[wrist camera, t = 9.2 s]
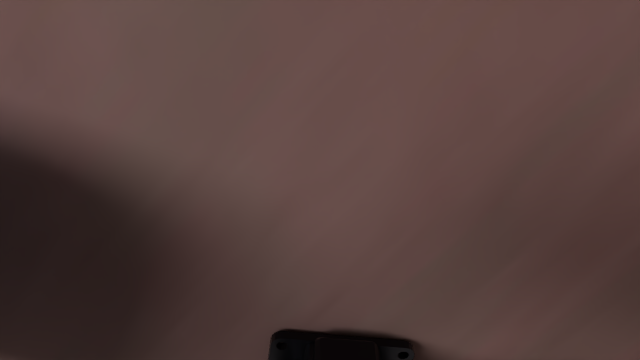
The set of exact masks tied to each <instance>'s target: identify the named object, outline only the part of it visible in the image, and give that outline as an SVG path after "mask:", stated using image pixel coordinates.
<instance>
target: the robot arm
mask: <svg viewBox="0 0 640 360" xmlns="http://www.w3.org/2000/svg"><path fill="white" fill-rule="evenodd" d="M281 342H284V343H281ZM413 358H414V350H413V346H412V344H411V343H409V342H407V341H398V340H386V339H373V338H360V337H348V336H335V335H322V334H310V333H297V332H285V331H281V332H276V333H274V334H273V335H272V337H271V341H270V348H269V355H268V360H413Z"/></svg>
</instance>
